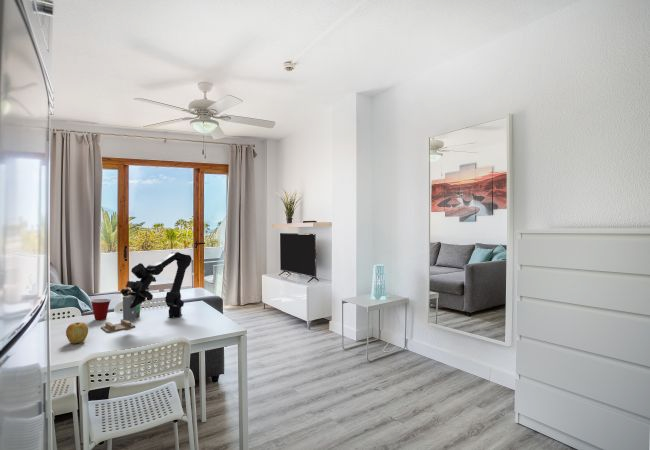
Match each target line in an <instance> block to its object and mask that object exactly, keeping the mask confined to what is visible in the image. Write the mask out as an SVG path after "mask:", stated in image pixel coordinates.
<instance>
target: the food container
mask: <svg viewBox="0 0 650 450" xmlns="http://www.w3.org/2000/svg"><path fill="white" fill-rule="evenodd" d="M142 303H143V302H142ZM142 303H140V304H138V305H137V306H136V319H138V318H140V317H141V315H140V314H141V305H142Z"/></svg>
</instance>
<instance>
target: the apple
mask: <svg viewBox="0 0 650 450" xmlns="http://www.w3.org/2000/svg"><path fill="white" fill-rule="evenodd" d="M88 333H89V327H88V325H87V324H86V323H85V322H77V321H76V322H73V323H70V324H69V325H68V326H67V327H66V330H65V336H66V338H67V340H68V341H69V343H70V344H80V343H83V342H84V341H86V338H87V336H88V335H89V334H88Z"/></svg>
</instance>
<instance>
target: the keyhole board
mask: <svg viewBox="0 0 650 450" xmlns="http://www.w3.org/2000/svg"><path fill="white" fill-rule="evenodd" d="M133 328H136V325H134V324H133V323H132V322H131V321H126V320H123V318H122V319H120V323H115V324H113V323H112V322H110V321H105V322H104V325H103V326H100V329H102V330H103V331H104V332H106V334H107V333H114V332H118V331H123V330H129V329H133Z"/></svg>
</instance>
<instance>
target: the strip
mask: <svg viewBox="0 0 650 450" xmlns="http://www.w3.org/2000/svg"><path fill="white" fill-rule="evenodd" d="M135 298H136V296H134V295H128V296H124V295H123V296H122V319H123V320H126V321H129V322H131V321H133V320H137V318H136V306H135V307H134V308H132V309H131V308H130V307H131V305H132V303H133V301H134V300H135Z"/></svg>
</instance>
